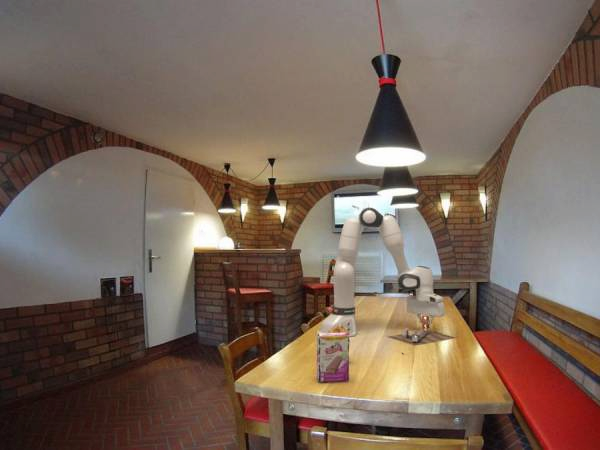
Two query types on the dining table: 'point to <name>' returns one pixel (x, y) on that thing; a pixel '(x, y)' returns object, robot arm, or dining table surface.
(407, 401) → the dining table surface
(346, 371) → the candy bar box
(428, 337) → the nutcracker base
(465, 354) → the dining table surface
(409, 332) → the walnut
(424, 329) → the lever
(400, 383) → the dining table surface
